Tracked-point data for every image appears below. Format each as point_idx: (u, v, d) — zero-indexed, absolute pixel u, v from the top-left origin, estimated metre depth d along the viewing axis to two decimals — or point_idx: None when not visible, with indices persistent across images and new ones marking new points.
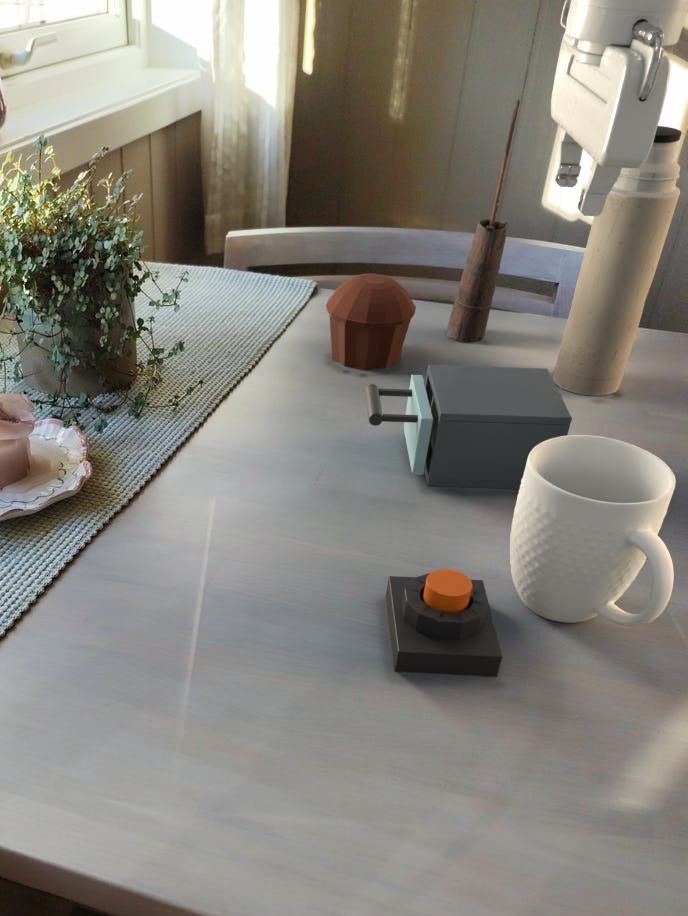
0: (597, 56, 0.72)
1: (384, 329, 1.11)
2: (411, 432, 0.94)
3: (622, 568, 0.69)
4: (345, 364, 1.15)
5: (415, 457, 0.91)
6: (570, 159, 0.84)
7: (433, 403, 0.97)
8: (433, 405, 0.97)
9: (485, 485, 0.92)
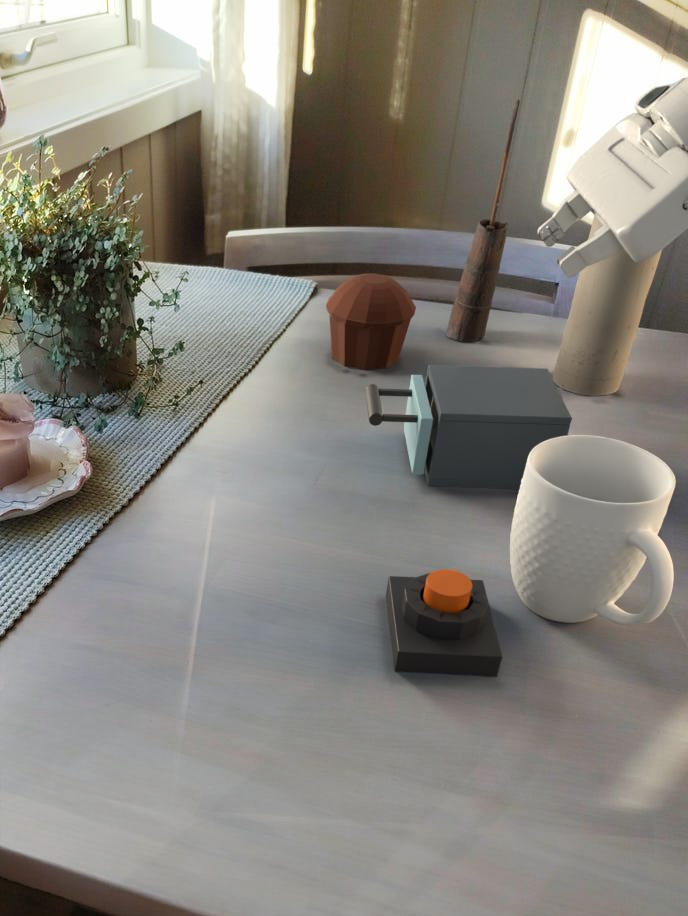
0: (663, 148, 0.74)
1: (384, 329, 1.11)
2: (411, 432, 0.94)
3: (622, 568, 0.69)
4: (345, 364, 1.15)
5: (415, 457, 0.91)
6: (561, 222, 0.85)
7: (433, 403, 0.97)
8: (433, 405, 0.97)
9: (485, 485, 0.92)
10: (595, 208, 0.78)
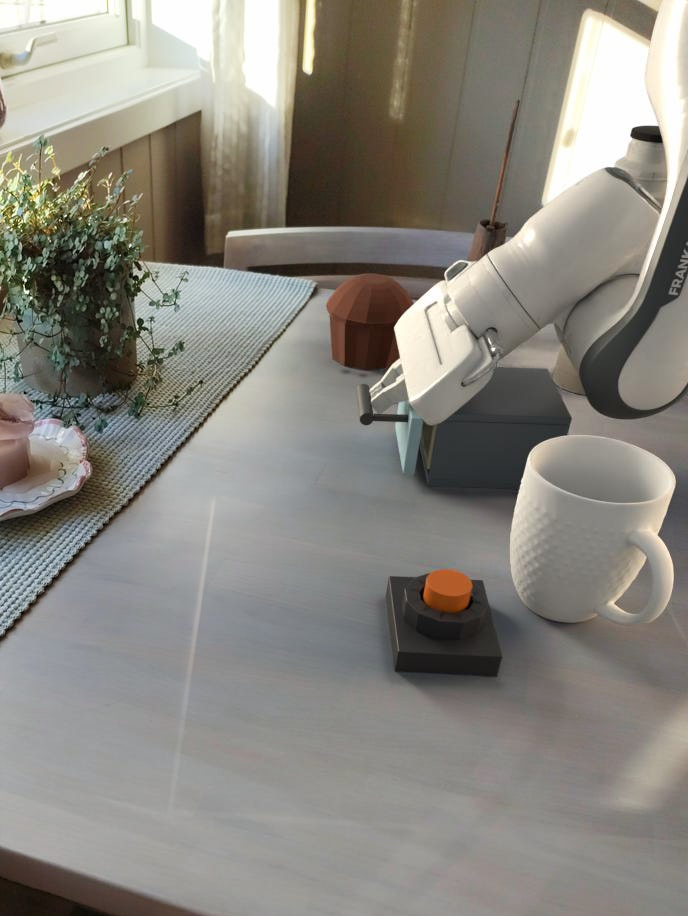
0: (454, 325, 0.85)
1: (384, 329, 1.11)
2: (402, 432, 0.94)
3: (622, 568, 0.69)
4: (345, 364, 1.15)
5: (406, 457, 0.92)
6: (389, 385, 0.93)
7: None
8: None
9: (485, 485, 0.92)
10: (403, 370, 0.89)
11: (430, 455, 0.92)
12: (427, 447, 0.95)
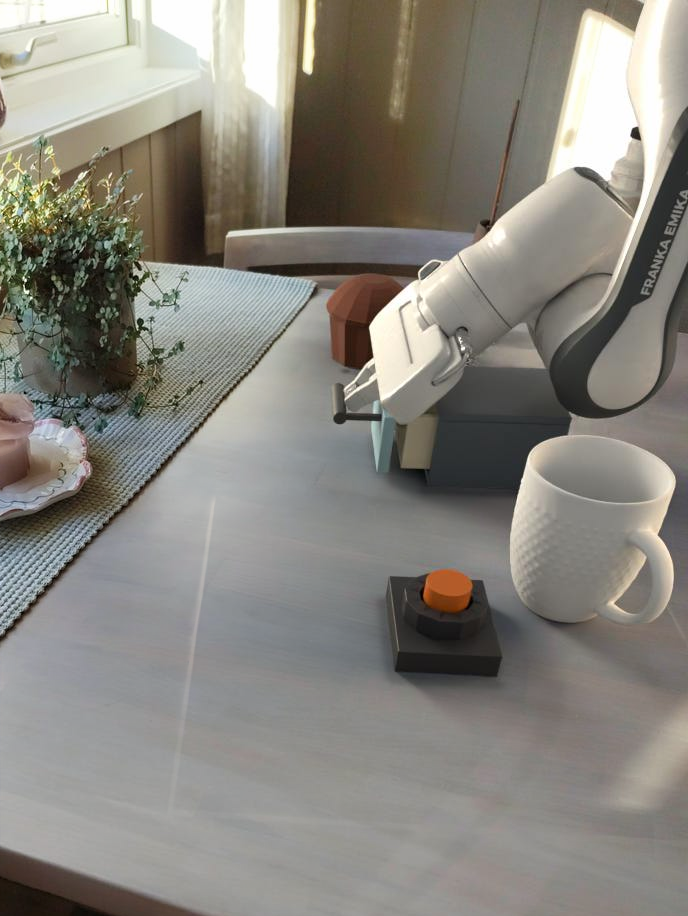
0: (426, 324, 0.85)
1: None
2: (376, 431, 0.95)
3: (622, 568, 0.69)
4: (345, 364, 1.15)
5: (379, 456, 0.92)
6: (363, 384, 0.93)
7: None
8: None
9: (485, 485, 0.92)
10: (375, 369, 0.89)
11: (403, 454, 0.92)
12: (402, 446, 0.95)
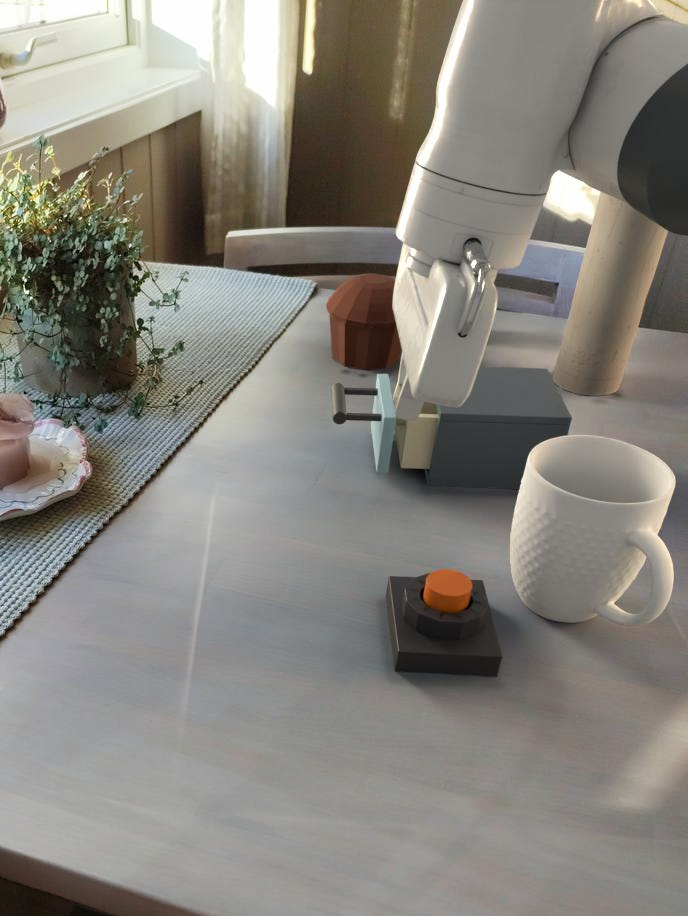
0: (426, 267, 0.60)
1: (384, 329, 1.11)
2: (376, 431, 0.95)
3: (622, 568, 0.69)
4: (345, 364, 1.15)
5: (379, 456, 0.92)
6: None
7: None
8: None
9: (485, 485, 0.92)
10: None
11: (403, 454, 0.92)
12: (401, 446, 0.95)
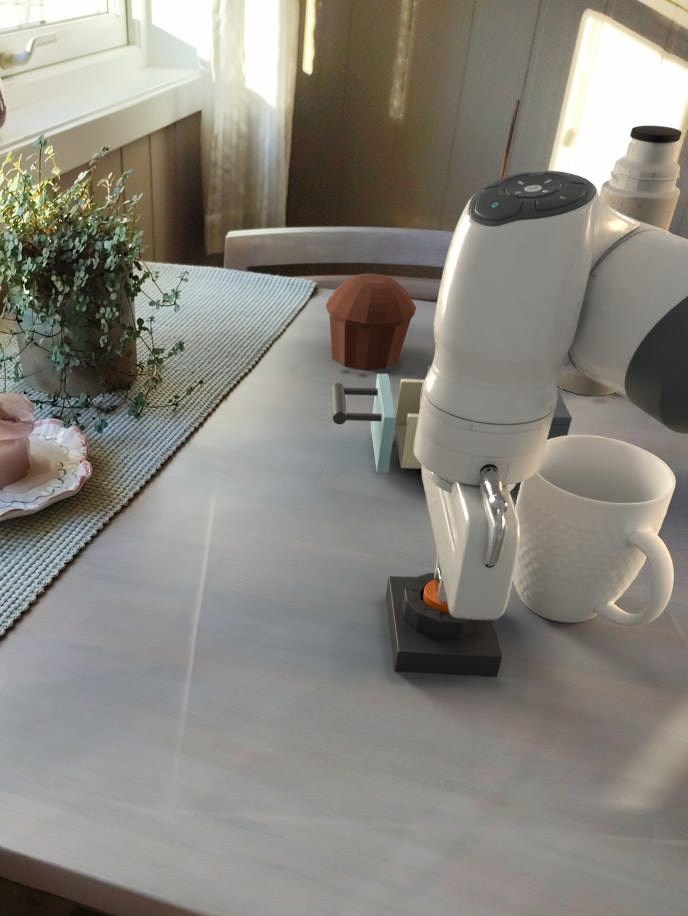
0: (447, 484, 0.63)
1: (384, 329, 1.11)
2: (376, 431, 0.95)
3: (622, 568, 0.69)
4: (345, 364, 1.15)
5: (379, 456, 0.92)
6: None
7: (399, 402, 0.97)
8: (399, 404, 0.97)
9: None
10: None
11: (403, 454, 0.92)
12: (401, 446, 0.95)
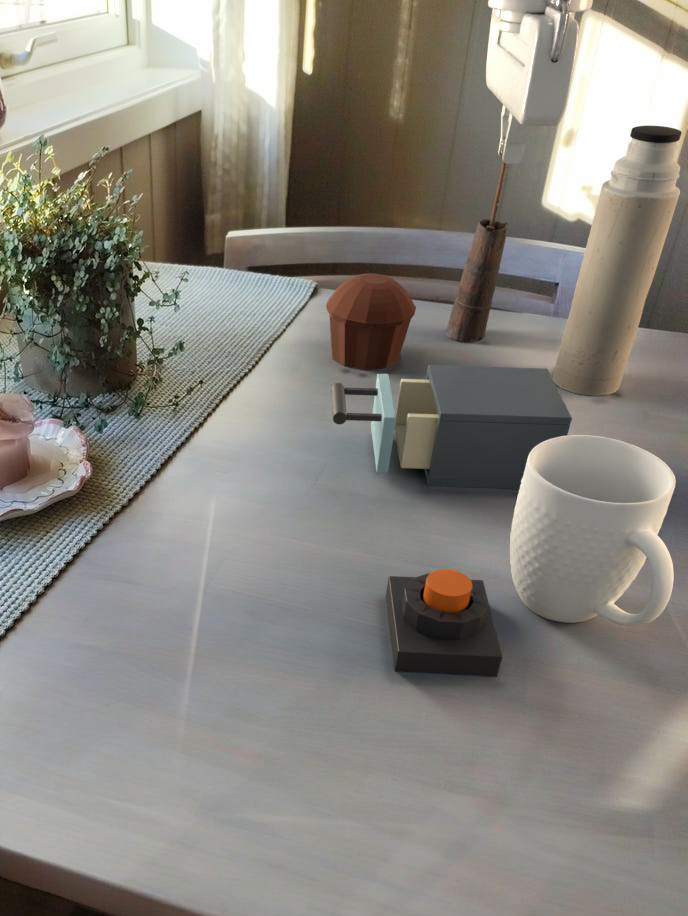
0: (517, 24, 0.78)
1: (384, 329, 1.11)
2: (376, 431, 0.95)
3: (622, 568, 0.69)
4: (345, 364, 1.15)
5: (379, 456, 0.92)
6: None
7: (399, 402, 0.97)
8: (399, 404, 0.97)
9: (485, 485, 0.92)
10: (506, 107, 0.82)
11: (403, 454, 0.92)
12: (401, 446, 0.95)
